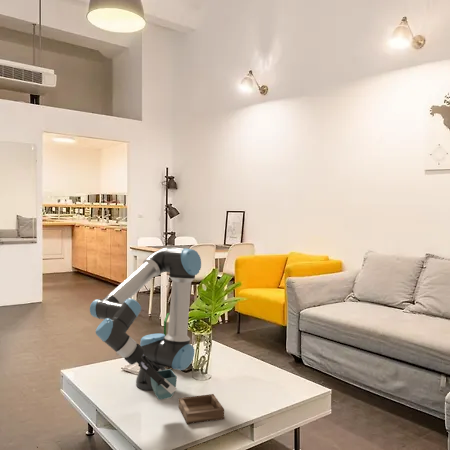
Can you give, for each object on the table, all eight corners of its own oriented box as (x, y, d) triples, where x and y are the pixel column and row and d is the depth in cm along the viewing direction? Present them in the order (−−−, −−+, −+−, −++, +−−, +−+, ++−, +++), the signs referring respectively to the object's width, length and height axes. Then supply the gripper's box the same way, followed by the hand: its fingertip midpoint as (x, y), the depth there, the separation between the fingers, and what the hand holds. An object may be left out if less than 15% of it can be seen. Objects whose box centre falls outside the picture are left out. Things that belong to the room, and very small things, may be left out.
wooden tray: (178, 407, 185) (178, 398, 185) (213, 403, 190) (213, 393, 190) (187, 424, 171) (187, 414, 171) (224, 419, 176) (224, 409, 176)
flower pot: (155, 403, 170) (155, 380, 170) (149, 394, 179) (149, 372, 178) (177, 399, 174) (177, 376, 174) (170, 390, 182) (170, 368, 182)
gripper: (120, 349, 181) (159, 382, 187) (126, 368, 160) (170, 405, 166) (134, 335, 182) (172, 369, 188) (141, 352, 162) (184, 389, 167)
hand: (171, 386), depth 177 cm, fingers closed on flower pot, 9 cm apart
